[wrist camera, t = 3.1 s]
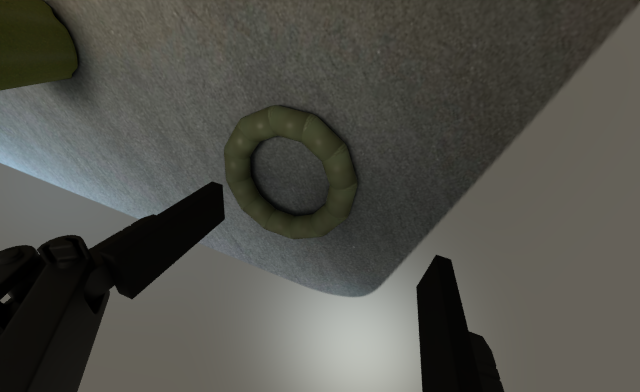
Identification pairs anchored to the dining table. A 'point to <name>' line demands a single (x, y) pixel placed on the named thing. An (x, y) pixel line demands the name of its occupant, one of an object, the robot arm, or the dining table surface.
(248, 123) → the ring
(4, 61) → the plant pot
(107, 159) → the dining table surface
